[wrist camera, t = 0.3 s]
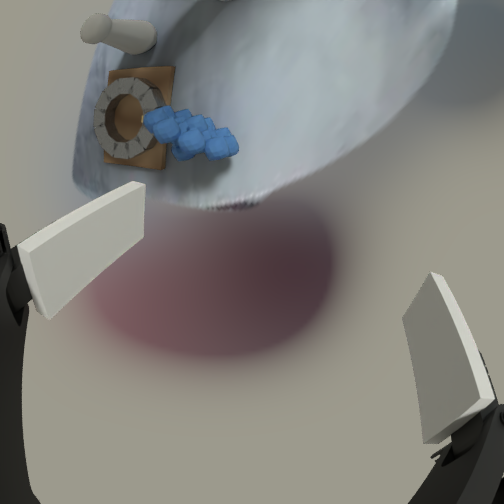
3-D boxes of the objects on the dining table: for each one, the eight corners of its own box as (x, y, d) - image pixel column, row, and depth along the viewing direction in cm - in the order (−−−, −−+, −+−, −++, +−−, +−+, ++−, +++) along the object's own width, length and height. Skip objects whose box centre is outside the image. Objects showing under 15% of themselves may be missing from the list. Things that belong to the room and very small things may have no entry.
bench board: (114, 71, 34) (109, 70, 33) (175, 66, 33) (171, 66, 32) (108, 160, 42) (103, 162, 41) (165, 168, 41) (161, 170, 40)
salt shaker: (146, 18, 29) (90, 1, 18) (169, 32, 30) (113, 13, 19) (126, 47, 32) (67, 40, 21) (147, 62, 33) (87, 55, 22)
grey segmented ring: (107, 80, 34) (94, 81, 31) (171, 77, 32) (159, 75, 30) (102, 152, 40) (90, 156, 38) (163, 159, 39) (151, 163, 36)
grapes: (166, 136, 38) (115, 148, 28) (185, 96, 35) (135, 95, 24) (230, 174, 39) (195, 199, 28) (254, 133, 35) (225, 142, 25)
